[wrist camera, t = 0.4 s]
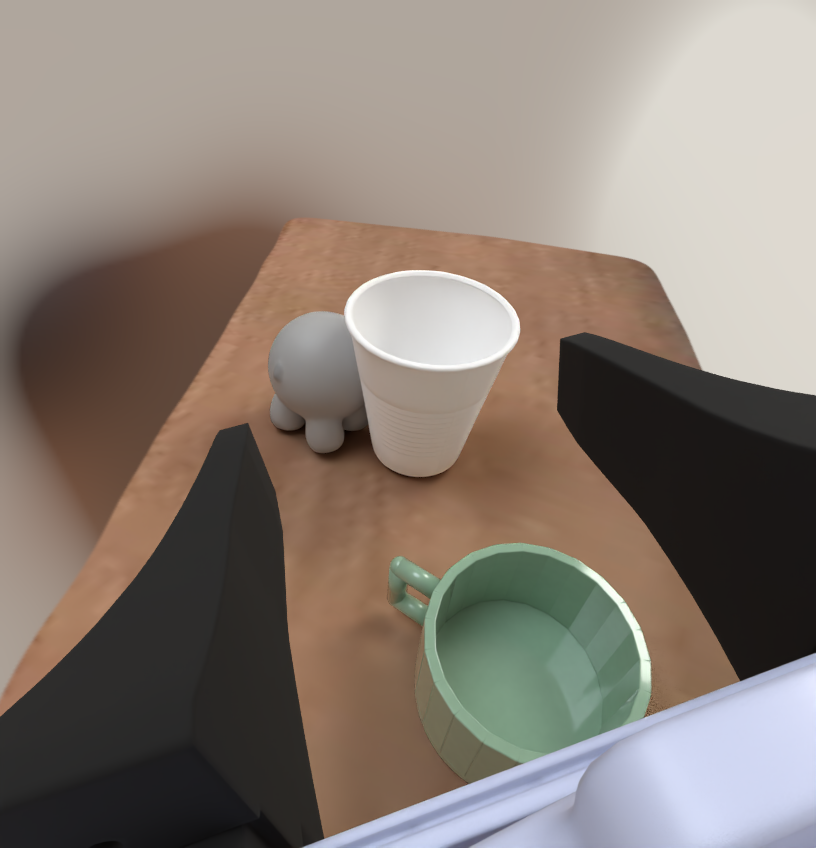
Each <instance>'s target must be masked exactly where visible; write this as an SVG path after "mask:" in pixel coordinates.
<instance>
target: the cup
mask: <svg viewBox="0 0 816 848" xmlns="http://www.w3.org/2000/svg"><path fill="white" fill-rule="evenodd" d="M344 315H345V323H346V326H347V328H348V331H349V333H350V334H351V336H352V341H353V346H354V352H355V357H356V362H357V367H358V372H359V377H360V380H361V386H362V391H363V397H364V402H365V408H366V413H367V418H368V424H369V430H370V435H371V441H372V446H373V449H374V452H375V454H376V456H377V457H378V459H379V460H380V461H381V462H382V463H383V464H384V465H385V466H387V467H388V468H390V469H391V470H393V471H395V472H397V473H400V474H403V475H407V476H413V477H427V476H433V475H436V474H439V473H442V472H444V471H445V470H447V469H449V468H450V467H451V466H452V465H453V464H454V463H455V462H456V460H457V459H458V457H459V455H460V453H461V451H462V448H463V446H464V444H465V442H466V440H467V437H468V435H469V433H470V431H471V429H472V427H473V425H474V422H475V421H476V418H477V416H478V414H479V412H480V410H481V408H482V406H483V404H484V401H485V399H486V397H487V395H488V393H489V390H490V389H491V387H492V385H493V383H494V381H495V379H496V377H497V375H498V373H499V370H500V368H501V366H502V364H503V362H504V360H505V358H506V356H507V354H508V353H509V352H511V350H512V349H513V348H514V346H515V345H516V343H517V342H518V338H519V334H520V323H519V319H518V316H517V314H516V312H515V310H514V309H513V307H512V306H511V305H510V303H509V302H508V301H507V300H506V299H505V298H503V297H502V296H501V295H500V294H499V293H497V292H496V291H494V290H492V289H491V288H489V287H488V286H486V285H483V284H481V283H479V282H477V281H475V280H472V279H469V278H466V277H463V276H460V275H455V274H450V273H446V272H438V271H426V270H413V271H401V272H396V273H391V274H386V275H383V276H380V277H377V278H374V279H372V280H370V281H368V282H366V283H365V284H363V285H361V286H360V287H359V288H358V289H357V290H355V291H354V292H353V294H352V295H351V296H350V298H349V299H348V301H347V304H346V307H345V310H344Z"/></svg>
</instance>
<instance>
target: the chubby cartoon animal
mask: <svg viewBox="0 0 816 848" xmlns="http://www.w3.org/2000/svg"><path fill="white" fill-rule="evenodd" d="M268 372H269V377H270V381H271V384H272V387H273V389H274V391H275V395H274V397H273V399H272V402H271V406H270V418H271V421H272V423H273V424H274V425H275V426H276V427H277V428H279V429H282V430H297V429H299V428H301V427H302V426H303V425H304V423H305V422H306V440H307V443H308V445H309V446H310V447H311V449H312V450H313V451H315V452H318V453H328V452H332V451H335V450H337V449H338V448H339V447H340V446H341V445H342V443H343V441H344V430H349V431H356V430H361V429H363V428H365V427H366V426H367V425H368V418H367V413H366V408H365V402H364V397H363V391H362V386H361V380H360V377H359V372H358V367H357V362H356V357H355V352H354V346H353V341H352V336H351V334H350V333H349V331H348V328H347V326H346V323H345V316H343V315H340V314H337V313H333V312H324V311H321V312H312V313H307V314H304V315H302V316H300V317H298V318H296V319H294V320H292V321H291V322H289V323H288V324H287V325H286V326H285V327H284V328H283V329H282V330H281V331H280V332H279V334H278V335H277V337H276V338H275V340H274V342H273V344H272V347H271V350H270V353H269V360H268ZM343 429H344V430H343Z"/></svg>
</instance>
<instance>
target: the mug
mask: <svg viewBox="0 0 816 848" xmlns="http://www.w3.org/2000/svg"><path fill="white" fill-rule="evenodd" d="M408 585H410V586H411V587H413V588H414V589H416V590H417V591H419V592H421V593H422V594H424V595H425V596H427V597H428V598H430V602H429V605H428V606H427V605H426V604H424V603H423V602H421V601H420V600H418V599H417V598H415V597H414V596H412V595H411V594H409V593H408V592H407V588H408ZM387 600H388V602H389V604H390V605H391V606H393V607H394V608H396V609H397V610H399V611H400V612H402V613H403V614H405V615H406V616H408V617H409V618H411V619H412V620H414V621H415V622H417V623H418V624H420V625H421V626H422V627H423V628H422V633H421V638H420V643H419V648H418V654H417V659H416V664H415V698H416V705H417V709H418V713H419V717H420V720H421V722H422V725H423V728H424V730H425V732H426V734H427V736H428V738H429V740H430V742H431V744H432V746H433V747H434V748H435V750H436V751H437V753H438V754H439V756H440V757H441V758H442V759H443V761H444V762H445V763H446V764H447V765H448V766H449V767H450V768H451V769H452V770H453V771H454V772H455V773H456V774H457V775H458V776H460V777H461V778H462V779H463V780H464V781H466V782H467V783H469V784H471V783H473V782H476V781H479V780H481V779H484V778H487V777H489V776H492V775H495V774H497V773H500V772H502V771H505V770H508V769H510V768H513V767H516V766H518V765H521V764H524V763H526V762H529V761H531V760H534V759H537V758H539V757H542V756H545V755H547V754H550V753H553V752H555V751H558V750H561V749H563V748H566V747H568V746H571V745H574V744H576V743H579V742H582V741H584V740H587V739H590V738H592V737H595V736H597V735H600V734H603V733H605V732H608V731H611V730H613V729H616V728H619V727H621V726H624V725H626V724H629V723H632V722H634V721H637V720H640V719H642V718H644V716H645V713H646V710H647V706H648V703H649V700H650V697H651V660H650V656H649V653H648V649H647V646H646V643H645V639H644V636H643V632H642V630H641V628H640V626H639V624H638V623H637V621H636V619H635V617H634V616H633V614H632V612H631V610H630V609H629V607H628V605H627V604H626V602H625V601H624V600H623V598H622V597H621V596H620V595H619V594H618V593H617V592H616V591H615V590H614V589H613V588H612V587H611V585H610V584H609V583H608V582H607V581H606V580H605V579H604V578H603V577H602V576H600V575H599V574H597V573H596V572H595V571H593V570H592V569H590V568H589V567H587V566H586V565H585V564H583V563H582V562H580V561H579V560H577V559H575V558H573V557H570V556H568V555H566V554H563V553H561V552H559V551H556V550H554V549H551V548H548V547H542V546H537V545H531V544H526V543H512V544H497V545H492V546H489V547H487V548H484V549H481V550H478V551H475V552H472V553H470V554H468V555H467V556H466V557H464V558H463V559H462V560H460V561H459V562H457V563H456V564H455V565H453V566H452V567H451V568H449V570H448V571H447V572H446V573H445V575H444V576H443V578H442V579H441V580H440V579H439V578H437V577H435V576H434V575H432V574H431V573H429V572H427V571H426V570H424V569H423V568H421V567H420V566H418V565H416V564H415V563H413V562H412V561H410V560H408V559H407V558H405V557H403V556H397V557H395V558H394V559H393V560H392V561H391V563H390V570H389V581H388V592H387Z"/></svg>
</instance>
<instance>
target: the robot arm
mask: <svg viewBox="0 0 816 848" xmlns="http://www.w3.org/2000/svg"><path fill="white" fill-rule="evenodd" d="M557 411H558V412H559V414H560V416H561V417H562V419H563V421H564V423H565V424H566V426H567V428H568V429H569V431H570V432H571V434H572V435H573V437H574V438H575V440H576V442H577V443H578V444H579V446H580V447H581V448H582V449H583V450H584V452H585V453H586V454H587V455H588V456H589V458H590V459H591V460H592V461H593V462H594V464H595V465H596V466H597V467H598V468H599V469H600V471H601V472H602V473H603V474H604V475H605V476H606V478H607V479H608V480H609V481H610V482H611V483H612V485H613V486H614V487H615V488H616V489H617V490H618V492H619V493H620V494H621V495H622V496H623V497H624V499H625V500H626V501H627V502H628V503H629V504H630V506H631V507H632V508H633V509H634V510H635V512H636V513H637V514H638V515H639V517H640V518H641V519H642V521H643V522H644V523H645V524H646V526H647V527H648V529H649V530H650V532H651V533H652V535H653V536H654V538H655V539H656V541H657V542H658V543H659V545H660V546H661V548H662V549H663V551H664V552H665V554H666V555H667V557H668V558H669V560H670V561H671V563H672V564H673V566H674V568H675V569H676V571H677V572H678V574H679V576H680V577H681V579H682V580H683V582H684V583H685V585H686V587H687V588H688V590H689V591H690V593H691V594H692V596H693V598H694V600H695V601H696V603H697V605H698V606H699V608H700V610H701V611H702V613H703V615H704V617H705V618H706V620H707V622H708V623H709V625H710V627H711V628H712V630H713V632H714V634H715V635H716V637H717V639H718V641H719V642H720V644H721V646H722V648H723V650H724V652H725V654H726V655H727V657H728V659H729V661H730V663H731V665H732V666H733V668H734V670H735V672H736V674H737V676H738V678H739V679H740V682H737V683H735V684H732V685H729V686H727V687H724V688H721V689H719V690H716V691H714V692H711V693H708V694H706V695H703V696H700V697H698V698H695V699H692V700H690V701H687V702H685V703H682V704H679V705H677V706H674V707H671V708H669V709H666V710H663V711H661V712H658V713H656V714H653V715H650V716H648V717H645V718H642V719H640V720H637V721H634V722H632V723H629V724H626V725H624V726H621V727H619V728H616V729H613V730H611V731H608V732H605V733H603V734H600V735H597V736H595V737H592V738H590V739H587V740H584V741H582V742H579V743H576V744H574V745H571V746H568V747H566V748H563V749H561V750H558V751H555V752H553V753H550V754H547V755H545V756H542V757H539V758H537V759H534V760H531V761H529V762H526V763H524V764H521V765H518V766H516V767H513V768H510V769H508V770H505V771H502V772H500V773H497V774H495V775H492V776H489V777H487V778H484V779H481V780H479V781H476V782H473V783H471V784H468V785H465V786H463V787H460V788H458V789H455V790H452V791H450V792H447V793H444V794H442V795H439V796H436V797H434V798H431V799H429V800H426V801H423V802H421V803H418V804H415V805H413V806H410V807H407V808H405V809H402V810H400V811H397V812H394V813H392V814H389V815H386V816H384V817H381V818H378V819H376V820H373V821H370V822H368V823H365V824H363V825H360V826H357V827H355V828H352V829H349V830H347V831H344V832H341V833H339V834H336V835H334V836H331V837H328V838H326V839H324V835H323V830H322V825H321V820H320V815H319V810H318V805H317V800H316V794H315V789H314V784H313V779H312V773H311V768H310V762H309V757H308V751H307V746H306V740H305V735H304V729H303V723H302V717H301V711H300V705H299V699H298V694H297V688H296V681H295V675H294V669H293V662H292V656H291V650H290V643H289V634H288V623H287V605H286V585H285V565H284V546H283V530H282V525H281V519H280V513H279V508H278V502H277V497H276V492H275V489H274V487H273V484H272V482H271V479H270V477H269V474H268V472H267V469H266V467H265V464H264V462H263V459H262V457H261V454H260V452H259V449H258V447H257V444H256V442H255V439H254V437H253V434H252V432H251V429H250V427H249V424H248V423H246V424H242V425H238V426H235V427H231V428H227V429H224V430H220V431H219V432H218V434H217V435H216V437H215V439H214V441H213V444H212V446H211V448H210V450H209V453H208V455H207V457H206V459H205V461H204V464H203V466H202V468H201V470H200V472H199V474H198V476H197V478H196V480H195V482H194V484H193V486H192V488H191V490H190V492H189V494H188V496H187V498H186V500H185V501H184V503H183V505H182V507H181V509H180V510H179V512H178V514H177V515H176V517H175V519H174V520H173V522H172V524H171V526H170V527H169V529H168V531H167V532H166V534H165V536H164V537H163V539H162V540H161V542H160V543H159V545H158V547H157V548H156V550H155V551H154V553H153V554H152V555H151V557H150V558H149V560H148V561H147V563H146V564H145V565H144V567H143V568H142V569H141V571H140V572H139V573H138V575H137V576H136V577H135V579H134V580H133V581H132V582H131V584H130V585H129V586H128V587H127V588H126V590H125V591H124V592H123V593H122V594H121V596H120V597H119V598H118V599H117V600H116V601H115V603H114V604H113V605H112V606H111V607H110V609H109V610H108V611H107V612H106V613H105V614H104V616H103V617H102V618H101V619H100V620H99V621H98V623H97V624H96V625H95V626H94V627H93V628H92V629H91V630H90V631H89V632H88V633H87V634H86V635H85V637H84V638H83V639H82V640H81V641H80V642H79V643H78V644H77V645H76V646H75V647H74V648H73V649H72V650H71V651H70V652H69V653H68V654H67V655H66V656H65V657H64V658H63V659H62V660H61V661H60V662H59V663H58V664H57V665H56V666H55V667H54V668H53V669H52V670H51V671H50V672H49V673H48V674H47V675H46V676H45V677H44V678H43V679H42V680H41V681H39V682H38V683H37V684H36V685H35V686H34V687H33V688H32V689H31V690H30V691H28V692H27V693H26V694H25V695H24V696H23V697H22V698H21V699H19V700H18V701H17V702H16V703H15V704H14V705H13V706H12V707H11V708H9V709H8V710H7V711H6V712H5V713H4V714H3V715H2V716H1V717H0V848H816V396H815V395H809V394H803V393H795V392H790V391H785V390H779V389H774V388H770V387H765V386H761V385H756V384H751V383H747V382H742V381H738V380H734V379H730V378H726V377H723V376H719V375H716V374H712V373H709V372H705V371H702V370H698V369H695V368H692V367H688V366H685V365H682V364H679V363H676V362H673V361H670V360H667V359H664V358H661V357H658V356H655V355H652V354H650V353H647V352H644V351H641V350H638V349H635V348H632V347H630V346H627V345H624V344H621V343H618V342H615V341H612V340H609V339H606V338H603V337H600V336H597V335H593V334H589V333H585V332H584V333H580V334H577V335H573V336H569V337H565V338H562V339H560V358H559V380H558V403H557Z"/></svg>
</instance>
